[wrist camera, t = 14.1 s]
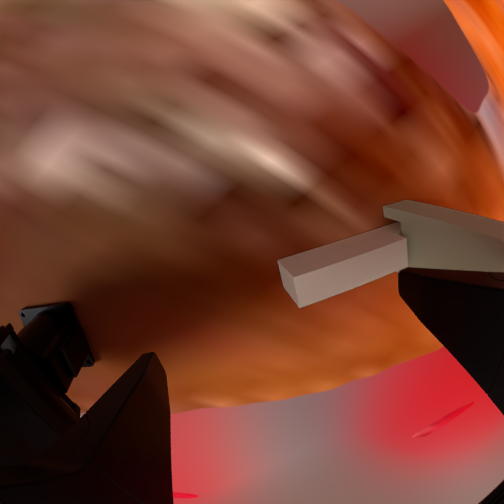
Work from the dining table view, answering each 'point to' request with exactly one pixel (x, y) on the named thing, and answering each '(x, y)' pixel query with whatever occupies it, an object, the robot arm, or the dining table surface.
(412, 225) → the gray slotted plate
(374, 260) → the white rectangular bar
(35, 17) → the dining table surface
